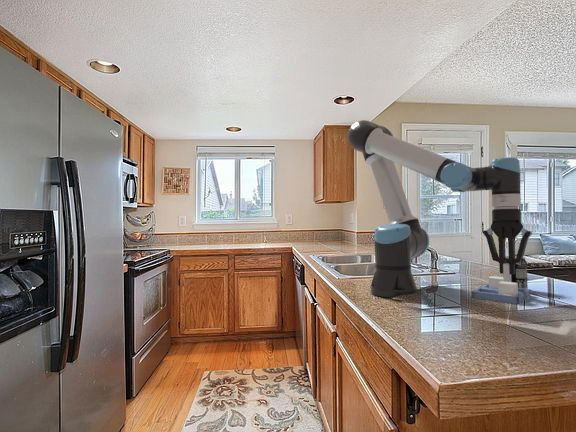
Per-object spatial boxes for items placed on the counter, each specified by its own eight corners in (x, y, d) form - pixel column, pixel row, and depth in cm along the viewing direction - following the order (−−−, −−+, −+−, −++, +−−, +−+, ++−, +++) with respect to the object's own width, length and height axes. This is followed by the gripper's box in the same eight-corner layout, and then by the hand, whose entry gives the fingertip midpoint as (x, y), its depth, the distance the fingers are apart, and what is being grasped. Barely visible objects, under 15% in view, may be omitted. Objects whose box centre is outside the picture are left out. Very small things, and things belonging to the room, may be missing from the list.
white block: (498, 300, 98) (498, 282, 98) (502, 298, 100) (501, 281, 100) (514, 302, 95) (514, 284, 95) (518, 300, 97) (517, 282, 97)
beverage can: (504, 290, 116) (503, 255, 116) (527, 292, 112) (526, 256, 112) (503, 294, 110) (502, 257, 110) (527, 296, 106) (526, 258, 107)
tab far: (488, 293, 106) (488, 277, 106) (492, 291, 109) (491, 276, 109) (503, 295, 103) (503, 279, 103) (506, 293, 106) (506, 277, 106)
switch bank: (471, 301, 101) (471, 290, 101) (486, 294, 111) (486, 283, 111) (519, 309, 93) (518, 296, 93) (530, 299, 102) (530, 288, 102)
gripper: (478, 208, 106) (480, 283, 106) (528, 207, 97) (530, 289, 97) (486, 209, 111) (487, 280, 111) (534, 207, 102) (535, 285, 102)
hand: (507, 284), depth 104 cm, fingers closed
